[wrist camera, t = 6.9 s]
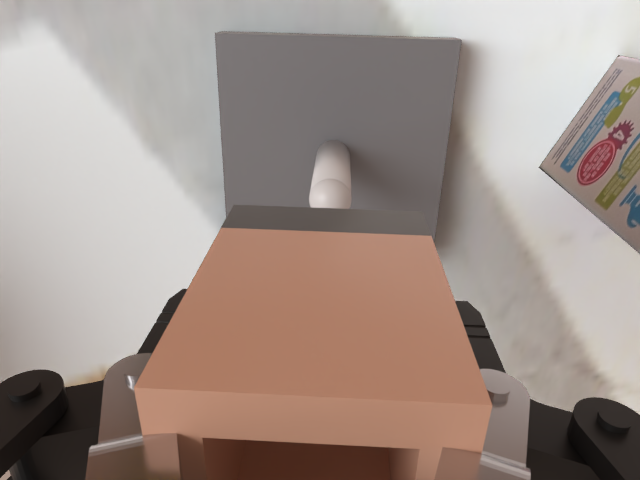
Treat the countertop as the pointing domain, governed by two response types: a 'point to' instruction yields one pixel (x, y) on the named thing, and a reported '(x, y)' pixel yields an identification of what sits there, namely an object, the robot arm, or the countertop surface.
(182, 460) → the sleeve
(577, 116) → the juice carton
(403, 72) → the pin board
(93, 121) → the countertop surface
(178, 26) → the countertop surface
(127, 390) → the robot arm
